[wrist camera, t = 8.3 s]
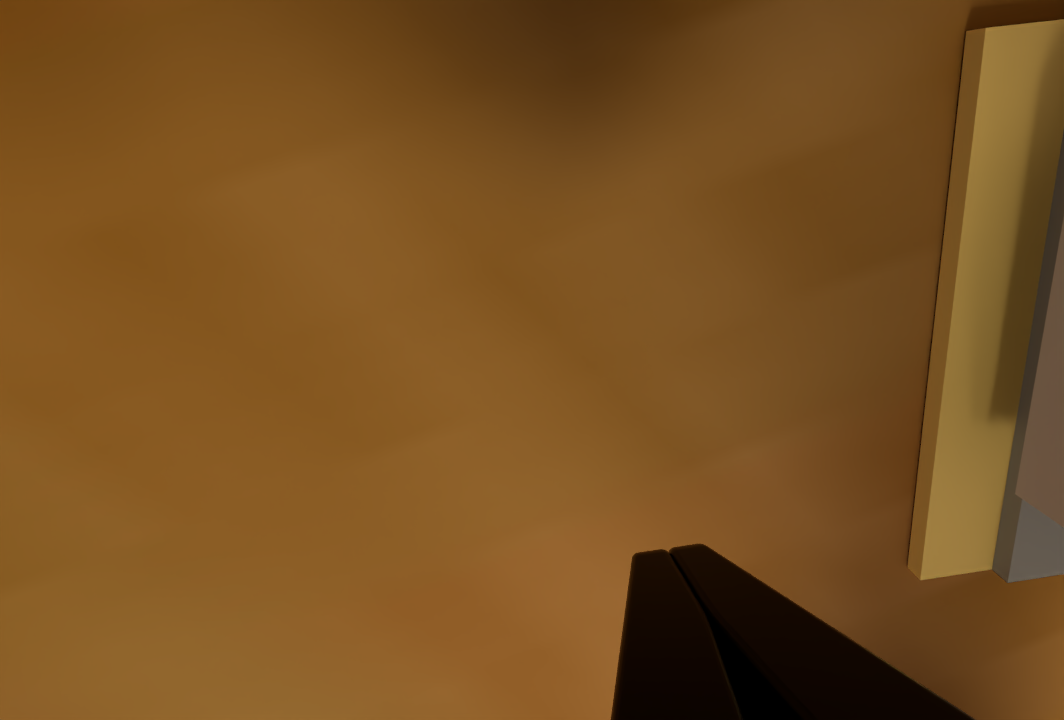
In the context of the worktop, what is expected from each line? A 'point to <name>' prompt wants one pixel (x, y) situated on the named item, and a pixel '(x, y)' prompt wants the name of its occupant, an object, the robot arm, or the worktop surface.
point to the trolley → (1047, 412)
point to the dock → (993, 311)
